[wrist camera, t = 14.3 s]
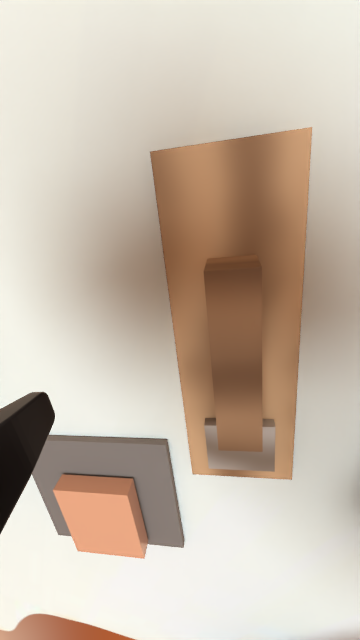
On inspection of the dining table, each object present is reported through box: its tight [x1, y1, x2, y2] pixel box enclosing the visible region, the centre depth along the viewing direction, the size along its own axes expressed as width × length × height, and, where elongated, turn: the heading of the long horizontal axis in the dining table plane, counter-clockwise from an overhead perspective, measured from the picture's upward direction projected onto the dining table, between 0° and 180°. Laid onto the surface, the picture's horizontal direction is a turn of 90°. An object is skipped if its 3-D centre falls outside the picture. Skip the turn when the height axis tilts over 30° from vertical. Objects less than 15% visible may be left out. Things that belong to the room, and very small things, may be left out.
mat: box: [32, 435, 184, 548], centre depth 28 cm, size 14×14×1 cm
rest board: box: [150, 127, 312, 480], centre depth 20 cm, size 8×24×1 cm, turn 7°
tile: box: [53, 474, 148, 558], centre depth 28 cm, size 7×2×9 cm
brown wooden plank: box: [204, 255, 275, 472], centre depth 19 cm, size 16×5×3 cm, turn 7°
